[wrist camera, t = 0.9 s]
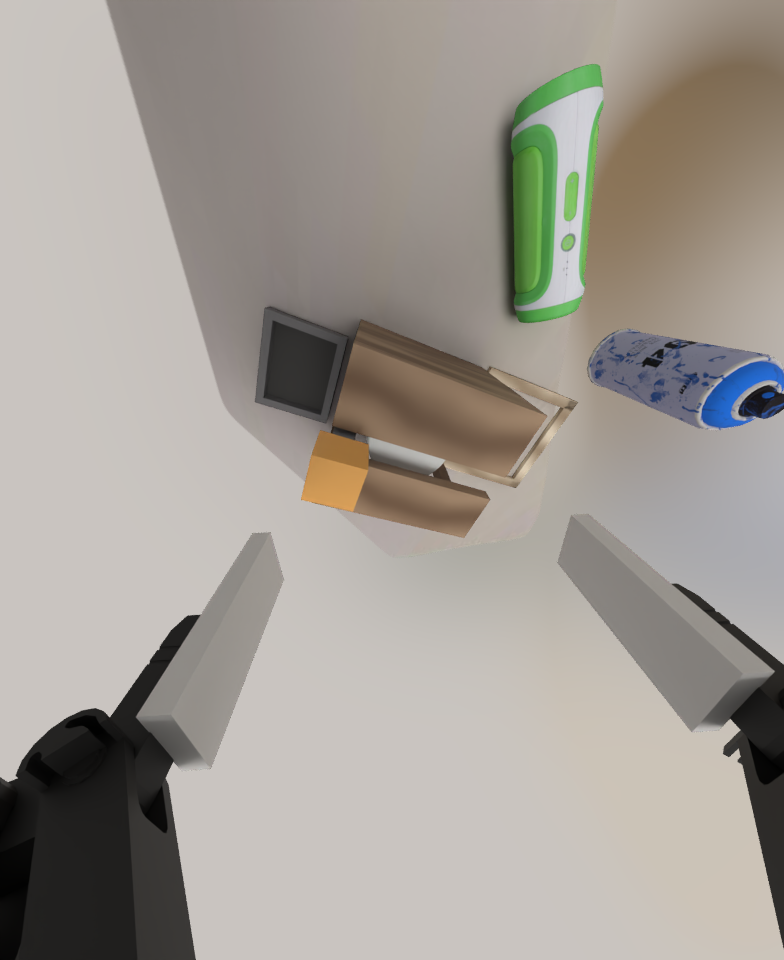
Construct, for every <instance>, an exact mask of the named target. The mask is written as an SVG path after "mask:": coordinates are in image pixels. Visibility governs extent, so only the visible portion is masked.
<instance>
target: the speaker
mask: <svg viewBox="0 0 784 960" xmlns="http://www.w3.org/2000/svg"><path fill="white" fill-rule="evenodd" d="M602 108H603V85H602V76H601V70H600V66H599V65H597V64H591V65H586V66H582V67H579V68H576V69H574V70H572V71H569V72H567V73H565V74H563V75H561V76H559V77H557V78H555V79H553V80H551V81H550V82H548V83H546V84H545V85H543V86H541V87H540V88H538V89H537V90H535V91H534V92H533V93H531V94H530V95H529V96H528V97H526V98H525V99H524V100H523V101H522V102H521V103H520V104H519V106H518V107H517V109H516V113H515V118H514V124H513V132H512V140H511V150H512V153H513V156H514V161H513V205H514V267H515V291H516V295H515V299H514V306H515V310H516V314H517V318H518V320H519V321H520V322H523V323H532V322H541V321H547V320H551V319H556V318H559V317H563V316H566V315H568V314H570V313H572V312H574V311H576V310H577V308H578V307H579V304H580V301H581V299H582V296H583V292H584V288H585V280H584V277H583V275H584V273H585V265H586V256H587V246H588V236H589V225H590V214H591V204H592V193H593V182H594V172H595V162H596V152H597V141H598V131H599V126H598V119H599V116H600V113H601V110H602Z"/></svg>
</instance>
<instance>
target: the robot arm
mask: <svg viewBox="0 0 784 960" xmlns="http://www.w3.org/2000/svg"><path fill="white" fill-rule="evenodd" d="M557 563H558V564H559V565H560V567H561V568H562V569H563V570H564V572H565V573H566V574H567V575H568V577H569V578H570V579H571V580H572V582H573V583H574V584H575V586H576V587H577V588H578V589H579V590H580V592H581V593H582V594H583V596H584V597H585V598H586V599H587V601H588V602H589V603H590V604H591V606H592V607H593V608H594V609H595V611H596V612H597V613H598V615H599V616H600V617H601V618H602V620H603V621H604V622H605V623H606V625H607V626H608V627H609V628H610V629H611V631H612V632H613V633H614V635H615V636H616V637H617V639H619V641H620V642H621V644H622V645H623V646H624V647H625V649H626V650H627V651H628V652H629V654H630V655H631V656H632V657H633V659H634V660H635V661H636V663H637V664H638V665H639V666H640V667H641V669H642V670H643V671H644V673H645V674H646V675H647V676H648V678H649V679H650V680H651V681H652V683H653V684H654V685H655V686H656V688H657V689H658V690H659V692H660V693H661V694H662V695H663V696H664V698H665V699H666V700H667V702H668V703H669V704H670V705H671V706H672V708H673V709H674V710H675V712H676V713H677V714H678V715H679V717H680V718H681V719H682V721H683V722H684V723H685V724H686V726H687V727H688V728H689V729H690V730H691V732H703V731H717V730H720V729H721V727H722V726H723V725H724V724H725V723H726V722H727V721H728V720H729V719H731V720H732V721H733V722H734V723H735V724H736V725H737V726H738V727H739V729H741V731H739V732H738V733H737V734H736V735H735V736H734V737H733V738H732V739H731V740H730V741H729V742H728V743H727V744H726V745H725V746H724V751H723V754H724V755H726V756H728V757H730V756H731V755H732V754H733V753H734V752H735V751H736V750H737V749H738V748H739V751H740V755H741V757H740V758H739V759H738V762H739V763H741V764H742V765H743V769H744V774H745V778H746V782H747V787H748V791H749V796H750V800H751V805H752V809H753V813H754V818H755V822H756V827H757V832H758V836H759V840H760V845H761V849H762V854H763V858H764V863H765V867H766V872H767V876H768V881H769V885H770V889H771V893H772V898H773V903H774V907H775V912H776V916H777V921H778V925H779V930H780V934H781V939H782V943H783V948H784V665H783V664H782V663H781V662H780V661H778V660H777V659H776V658H775V657H773V656H772V655H771V654H770V653H768V652H767V651H766V650H765V649H763V648H762V647H761V646H760V645H758V644H757V643H756V642H755V641H754V640H752V639H751V638H750V637H749V636H747V635H746V634H745V633H744V632H742V631H741V630H740V629H739V628H738V627H736V626H735V625H734V624H730V621H729V620H728V619H726V618H725V617H724V616H723V615H721V614H720V613H719V612H716V611H715V609H714V608H713V607H712V606H710V605H709V604H708V603H707V602H705V601H704V600H703V599H702V598H701V597H699V596H698V595H696V594H695V593H693V592H691V591H689V590H687V589H686V588H684V587H682V586H681V585H679V584H671V583H669V582H668V581H667V580H666V579H665V578H664V577H663V576H661V575H660V574H659V573H658V572H657V571H655V570H654V569H653V568H652V567H651V566H649V565H648V564H647V563H646V562H645V561H644V560H642V559H641V558H640V557H639V556H638V555H636V554H635V553H634V552H633V551H632V550H631V549H629V548H628V547H627V546H626V545H625V544H623V543H622V542H621V541H620V540H619V539H617V538H616V537H615V536H614V535H613V534H611V533H610V532H609V531H608V530H607V529H606V528H604V527H603V526H602V525H601V524H600V523H598V522H597V521H596V520H595V519H594V518H593V517H591V516H590V515H589V514H579V515H571V518H570V521H569V524H568V528H567V531H566V535H565V538H564V542H563V545H562V548H561V552H560V555H559V559H558V562H557ZM283 580H284V578H283V575H282V571H281V568H280V564H279V561H278V557H277V554H276V550H275V547H274V543H273V540H272V536H271V533H270V532H269V533H252V535H251V537H250V538H249V540H248V541H247V543H246V545H245V546H244V548H243V549H242V551H241V552H240V554H239V555H238V557H237V559H236V560H235V562H234V563H233V565H232V567H231V568H230V570H229V572H228V573H227V574H226V576H225V577H224V579H223V581H222V582H221V584H220V585H219V587H218V588H217V590H216V592H215V594H214V595H213V596H212V598H211V599H210V601H209V603H208V604H207V606H206V607H205V609H204V611H203V612H202V614H201V615H191V616H187V617H186V618H184V619H183V620H182V621H181V622H180V623H179V624H178V625H177V626H175V627H174V628H173V629H172V630H171V631H170V633H169V634H168V636H167V637H166V639H165V640H164V641H163V643H162V644H161V646H160V649H159V650H157V651H156V653H155V654H154V656H153V657H152V658H151V660H150V663H149V665H147V666H146V667H145V668H144V670H143V671H142V673H141V674H140V676H139V677H138V679H137V680H136V681H135V683H134V684H133V685H132V687H131V688H130V690H129V691H128V693H127V694H126V695H125V697H124V698H123V700H122V701H121V703H120V704H119V705H118V707H117V708H116V710H115V711H114V713H113V714H112V715H111V717H108V715H107V714H106V713H105V712H104V711H102V710H99V709H96V708H94V709H88V710H83V711H80V712H78V713H76V714H74V715H72V716H70V717H68V718H66V719H64V720H63V721H62V722H60V723H59V724H57V725H56V726H54V727H53V728H51V729H50V730H49V731H48V732H47V733H46V734H45V735H44V736H43V737H42V738H41V739H39V740H38V741H37V742H36V743H35V744H34V745H33V747H32V748H31V749H30V751H29V752H28V753H27V755H26V756H25V757H24V759H23V760H22V762H21V764H20V766H19V769H18V771H17V774H16V776H17V777H18V779H15V780H13V781H10V782H7V781H5V780H3V779H2V778H0V960H196V959H195V952H194V946H193V939H192V934H191V927H190V920H189V914H188V907H187V901H186V895H185V888H184V881H183V876H182V869H181V862H180V856H179V849H178V843H177V837H176V830H175V824H174V817H173V811H172V804H171V798H170V792H169V785H168V783H167V781H166V776H167V774H168V771H169V769H170V767H171V765H172V763H173V762H174V763H175V764H176V765H177V766H178V767H179V769H180V770H181V771H188V770H202V769H211V767H212V764H213V762H214V759H215V757H216V754H217V751H218V749H219V746H220V744H221V741H222V738H223V736H224V733H225V731H226V728H227V726H228V723H229V720H230V718H231V715H232V713H233V710H234V707H235V704H236V702H237V699H238V697H239V695H240V692H241V689H242V687H243V684H244V682H245V679H246V676H247V674H248V671H249V669H250V666H251V663H252V661H253V658H254V656H255V653H256V650H257V648H258V645H259V643H260V640H261V637H262V635H263V632H264V630H265V627H266V625H267V622H268V619H269V617H270V614H271V612H272V609H273V606H274V604H275V601H276V599H277V596H278V593H279V591H280V588H281V586H282V583H283Z"/></svg>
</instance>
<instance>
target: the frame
mask: <svg viewBox="0 0 784 960" xmlns="http://www.w3.org/2000/svg"><path fill="white" fill-rule="evenodd" d="M487 372H489V373H490V374H491V375H493V376H494V377H496V378H497V379H498V380H500V381H501V382H502V383H504V384H505V385H506V386H508V387H510V388H513V389H516V390H518V391H521V392H523V393H526V394H528V395H531V396H534V397H536V398H539V399H541V400H544V401H546V402H549V403H551V404H554V405H557V406H559V407H560V409H559V410H558V412H557V413H556V415H555V416H554V417H553V419H552V420H551V422H550V423H549V425H548V426H547V427H546V429H545V430H544V432H543V433H542V435H541V436H540V438H539V439H538V440H537V442H536V443H535V445H534V446H533V448H532V449H531V450H530V452H529V453H528V455H527V456H526V458H525V459H524V460H523V462H522V463H521V465H520V466H519V468H518V469H517V470H516V472H515V473H514V475H513V476H512V477H510V476H506V477H505V478H504V477H501V476H498V475H494V474H491V473H488V472H484V471H481V470H478V469H474V468H471V467H468V466H464V465H461V464H458V463H454V462H451V461H448V460H445V461H444V466H445V467H446V468H449V469H453V470H456V471H460V472H463V473H466V474H470V475H473V476H477V477H480V478H483V479H487V480H490V481H494V482H497V483H501V484H504V485H507V486H511V487H514V488H516V487H517V486H518V484H519V483H520V482H521V480H522V479H523V478H524V476H525V475H526V473H527V472H528V471H529V469H530V468H531V467H532V465H533V464H534V462H535V461H536V460H537V458H538V457H539V456H540V454H541V453H542V451H543V450H544V449H545V447H546V446H547V444H548V443H549V442H550V440H551V439H552V438H553V436H554V435H555V433H556V432H557V431H558V429H559V428H560V427H561V425H562V424H563V422H564V421H565V420H566V418H567V417H568V416H569V414H570V413H571V411H572V410H573V409H574V407H575V406H576V405H577V403H578V402H576V401H574V400H572V399H569V398H567V397H564V396H562V395H560V394H557V393H555V392H552V391H550V390H547V389H545V388H542V387H540V386H537V385H535V384H532V383H530V382H527V381H525V380H522V379H520V378H517V377H515V376H512V375H510V374H507V373H505V372H502V371H500V370H497V369H495V368H492V367H489V369H488V371H487Z"/></svg>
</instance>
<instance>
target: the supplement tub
mask: <svg viewBox="0 0 784 960" xmlns="http://www.w3.org/2000/svg"><path fill="white" fill-rule="evenodd" d="M367 444H369V455H370V457H371V459H372V460H375V461H379V462H382V463H386V464H389V465H393V466H396V467H400V468H404V469H407V470H411V471H414V472H418V473H421V474H425V475H429V474H431V473H433V472H434V471H436V470H437V469H438V468H439V467H440V466H441V465H442V464H443V463H444V461H445V460H444V459H441V458H438V457H434V456H431V455H428V454H424V453H421V452H418V451H414V450H411V449H408V448H404V447H401V446H398V445H394V444H391V443H388V442H384V441H381V440H378V439H374V438H371V437H368V436H367Z"/></svg>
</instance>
